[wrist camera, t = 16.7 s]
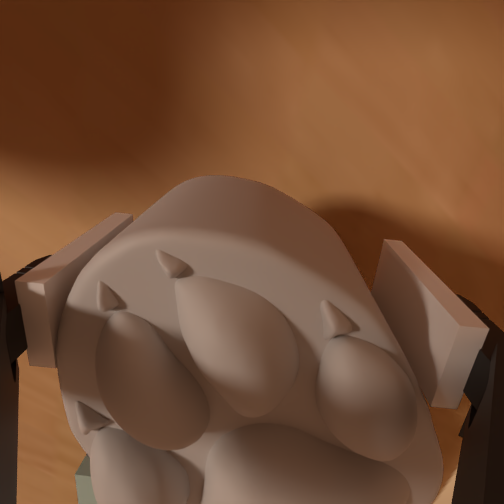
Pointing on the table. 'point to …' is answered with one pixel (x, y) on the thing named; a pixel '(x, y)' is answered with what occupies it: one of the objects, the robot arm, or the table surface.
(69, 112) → the table surface
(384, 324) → the lumpy-topped squat cylinder
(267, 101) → the table surface
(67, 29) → the table surface
